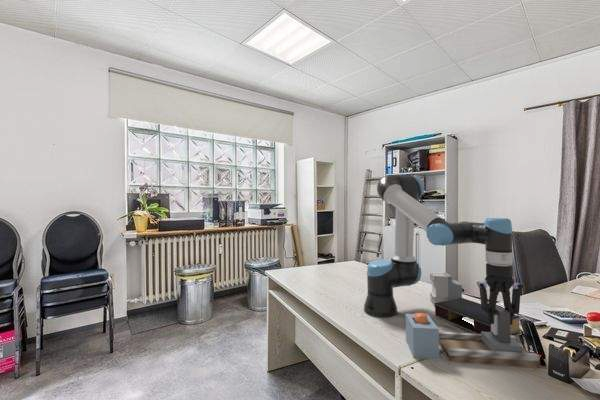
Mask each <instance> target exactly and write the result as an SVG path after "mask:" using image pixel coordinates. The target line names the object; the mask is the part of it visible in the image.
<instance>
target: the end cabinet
mask: <svg viewBox="0 0 600 400" xmlns="http://www.w3.org/2000/svg"><path fill="white" fill-rule="evenodd" d="M426 315H427V324H418V323H415V313H405V341H406V344H407V346H408V348H409V351H410V353H411V355H412V357H413V358H414V359H427V360H428V359H429V360H440V346H439V332H440V331H439V330H440V329H439V327H438V326H437V324H436V323H435V322H434V320H433V319H432V318H431V316H430V315H429V314H426Z"/></svg>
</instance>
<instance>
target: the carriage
mask: <svg viewBox="0 0 600 400" xmlns="http://www.w3.org/2000/svg"><path fill="white" fill-rule="evenodd" d="M495 314H496V315H497V322H498V335H495V334H494V333H492V332H481V340H482V341H483V342H484V343H485V344H486V345H487V346H488V347H489V348H490V349H491V351H507V352H523V348H524V346H523V345H521V344H520V343H519V342H518V341H517V342H516V341H515V340H514V339H513V338H511V337H510V312H509V311H507V310H506V309H505V307H504V306H503V307H502V306H501V305H496V309H495Z"/></svg>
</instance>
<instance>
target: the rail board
mask: <svg viewBox="0 0 600 400" xmlns="http://www.w3.org/2000/svg"><path fill="white" fill-rule="evenodd" d="M510 337H511V338H513V339H514V340H515V341H516V342H518V338H517V337H516V336H515V335H512V334H511V335H510ZM439 348H441V350H442V352H443V353H444V355H445V356H446V358H447V360H448V361H449V362H450V363H461V364H473V365H474V364H477V365H489V366H504V367H505V366H507V367H519V368H521V367H522V368H532V369H534V368H535V369H541V361H540V360H541V359H540V358H541V357H540V354H538V353H537V352H530V351H528V350H527V349H526V348H524V347H523V352H507V351H491V349H490V348H489V347H488V346H487V345H486V344H485V343H484V342H483V341H482V340H481V334H474V333H472V332H470V333H468V332H451V331H439Z"/></svg>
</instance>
